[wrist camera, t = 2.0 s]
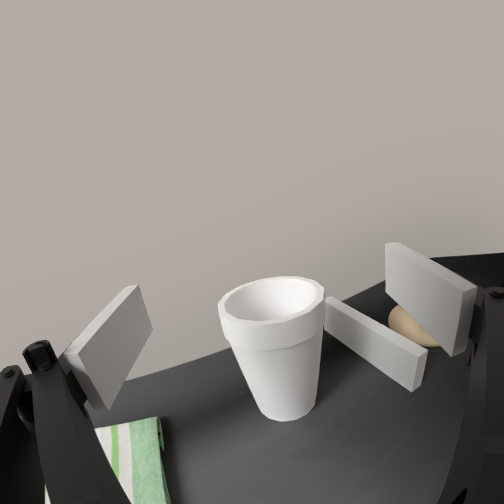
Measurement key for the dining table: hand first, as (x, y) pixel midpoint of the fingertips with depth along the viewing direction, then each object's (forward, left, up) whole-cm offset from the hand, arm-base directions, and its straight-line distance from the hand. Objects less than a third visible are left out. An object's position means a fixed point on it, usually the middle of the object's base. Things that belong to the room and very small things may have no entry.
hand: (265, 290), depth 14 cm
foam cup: (-3, -9, -18) cm, 21 cm away
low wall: (-15, -10, -18) cm, 26 cm away
